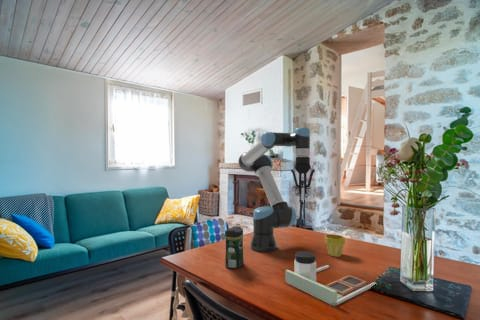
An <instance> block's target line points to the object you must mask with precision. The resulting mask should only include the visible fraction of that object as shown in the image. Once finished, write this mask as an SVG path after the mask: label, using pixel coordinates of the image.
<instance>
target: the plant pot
mask: <svg viewBox="0 0 480 320" xmlns="http://www.w3.org/2000/svg"><path fill="white" fill-rule="evenodd" d="M324 242H325V244H326V249H327V254H328V255H329V256H332V257H334V258H335V257H337V258H338V257H339V258H340V257H341V256H342V254H343V253H342V252H343V250H344V245H345V244H346V237H345V236H344V235H341V234H336V233H335V234H334V233H330V234H326V235H324Z"/></svg>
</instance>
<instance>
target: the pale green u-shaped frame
mask: <svg viewBox="0 0 480 320" xmlns="http://www.w3.org/2000/svg"><path fill="white" fill-rule="evenodd" d="M327 269H330V265H329V264H327V265H326V264H325V265H323V266H321V267H318V268H317V267H316V273H319V272H321V271H323V270H327ZM284 277H285V278H284V279H285V283H286V284H288V285H289V286H291V287H294V288H296V289H298V290H300V291H303V292H304V293H307V294H308V295H311V296H312V297H314V298H316V299H318V300H319V301H320V300H321V301H323V302H325V303H327V304H328V305H330V306H333V307H336V306H338V305H340V304H342V303H344V302H345V301H347V300H350V299H352V298H353V297H356V296H358V295H360V294H361V293H363V292H365V291H368V290H369V289H371V287H372V286H373V285H375V284H376V285H377V282H375V281H373V282H371V283H369V284H367V280H364V279H361V278H359V277H355V276H353V275H350V274H349V275H346V276H344V277H341V278H339V279H337V280H335V281H332V282H330V283H328V284H325V285H324V284H322V283H319V282H317V281H316V282H315V281H313V280H310V279H308V278H306V277H304V276H301V275H299V274H297V273H294V271H292V270H289V269H285V275H284ZM372 288H373V287H372Z"/></svg>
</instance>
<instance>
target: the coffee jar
mask: <svg viewBox="0 0 480 320" xmlns="http://www.w3.org/2000/svg"><path fill="white" fill-rule="evenodd" d="M224 237H225V238H224V239H225V267H227V268H229V269H231V270H232V269H233V270H234V269H239V268H240V267H242V265H243V264H244V263H245V261H244V245H243V244H244V242H243V241H244V230H243V228H242V227H241V226H235V225H234V226H232V227H229V228H228V229H226V230H225V231H224Z"/></svg>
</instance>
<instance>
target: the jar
mask: <svg viewBox="0 0 480 320" xmlns="http://www.w3.org/2000/svg"><path fill="white" fill-rule="evenodd" d="M293 262H294V263H293V266H294V267H293V269H294V270H293V272H294V273H297V274H299V275H301V276H304V277H306V278H308V279H310V280H313V281H315V282H317V272H316V269H317V261H316V254H315V253H314V252H312V251H308V250H307V251H304V250H302V251H301V250H300V251H299V250H298V251H297V252H295V254H294V261H293Z"/></svg>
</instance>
